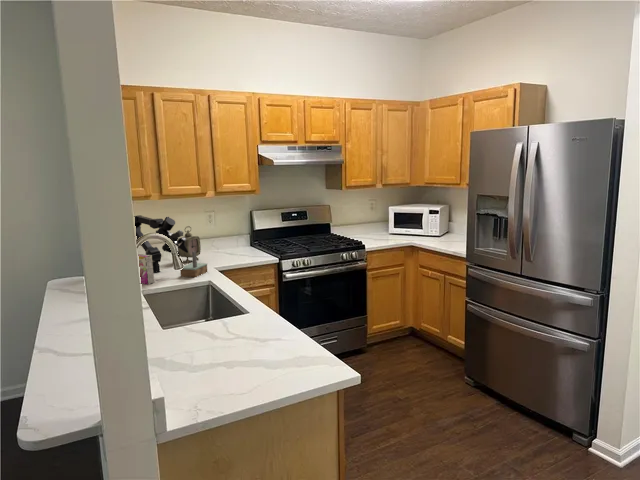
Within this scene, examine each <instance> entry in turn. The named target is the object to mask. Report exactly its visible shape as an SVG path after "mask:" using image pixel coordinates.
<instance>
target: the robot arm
mask: <svg viewBox="0 0 640 480" xmlns="http://www.w3.org/2000/svg"><path fill="white" fill-rule="evenodd" d="M133 217H135V226H136V236H137V239H138V238H139V237H141V236H143V235H144V234H143V232H142V229H141V228H142V224H143V225H148V226H149V227H150V229H151V228H152V229H155V234H156V233H159V234H163V235H165V236H167V237H168V238H170V239H171V240H172V241H173V243H174V244H175V245H174V246H176V247H177V249H178V248H180V249H181V250H183V251H185V252H186V253H188V250H187V247H186V245H185V242H186V238H185V237H184V231H183V230H182V229H179V230H177V231H176V232H171V230H172V229H173V227H174V226H175V225H176V221H175V219H173V218H171V217H170V216H166V217H164V219H163V218H152V217H148V216H143V215H134V216H133ZM156 229H157V230H156ZM181 237H182V238H181ZM137 239H136V240H137ZM178 239H179V240H178ZM140 246H141V247H142V249H143V250H144V251H145V254H144V255H152V261H153V273H154V274H156V273H161V268H160V267H161V266H160V264H159V263H160V262H161V261H162V253H161V251H160V250H159V248H158V247H157V246H152V245H151V242H149V240H148V241H146V242H144V243H143V244H142V245H141V244H140ZM161 249H162V251H164V252H168V253H171V250H170V248H169V246H168V245H167V244H166V242H165V243H164V244H163V245H162V247H161ZM177 252H178V250H177ZM171 254H172V253H171ZM178 254H179V252H178ZM178 257H180V254H179V256H178Z"/></svg>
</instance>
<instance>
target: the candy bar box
mask: <svg viewBox="0 0 640 480" xmlns="http://www.w3.org/2000/svg"><path fill="white" fill-rule="evenodd" d="M137 254H138V256H139V267H140V277H141V283H143V285H152V284H155V276H154V275H155V273H153V261H152V255H145V254H144V253H143V254H142V253H137ZM141 283H140V284H141ZM151 283H152V284H151Z"/></svg>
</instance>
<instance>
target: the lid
mask: <svg viewBox="0 0 640 480" xmlns="http://www.w3.org/2000/svg"><path fill="white" fill-rule="evenodd" d="M196 257H197V256H196V252H192V263H188V264H187V265H184V266H183V267H184V268H183V269H184V270H196V269H199V268H201V267H203V266H206V265H207V266H208V263H201V262H200V263H199V262H197V261H198V260H197V259H196Z"/></svg>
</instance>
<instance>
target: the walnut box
mask: <svg viewBox="0 0 640 480" xmlns="http://www.w3.org/2000/svg"><path fill="white" fill-rule="evenodd" d="M179 272H180V277H181V278H194V277H196V278H198V277H200V276H202V275H204V274H207V273H208V264H207V265H206V266H203V267H201V268H199V269H196V270H184V269H182V270H180V269H179ZM206 272H207V273H206ZM201 274H202V275H201ZM199 275H200V276H199ZM197 276H198V277H197Z"/></svg>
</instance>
